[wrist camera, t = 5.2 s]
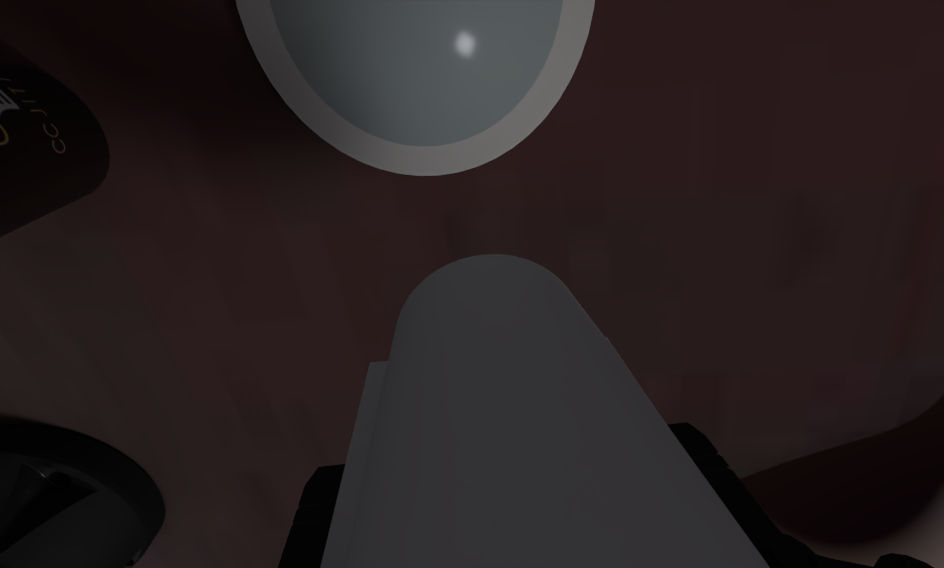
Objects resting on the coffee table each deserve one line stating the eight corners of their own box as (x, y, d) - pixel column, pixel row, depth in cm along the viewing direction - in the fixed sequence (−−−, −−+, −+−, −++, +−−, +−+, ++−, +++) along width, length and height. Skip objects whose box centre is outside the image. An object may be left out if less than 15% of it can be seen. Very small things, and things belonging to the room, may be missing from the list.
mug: (352, 283, 12) (-202, 1566, 2) (562, 213, 12) (1718, 1368, 1) (458, 486, 17) (495, 1197, 6) (614, 441, 16) (956, 1122, 6)
